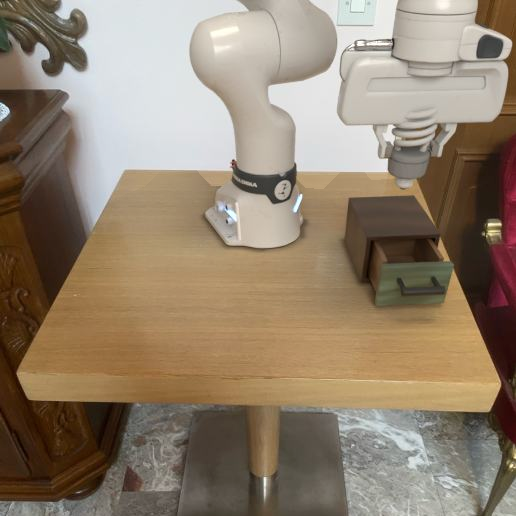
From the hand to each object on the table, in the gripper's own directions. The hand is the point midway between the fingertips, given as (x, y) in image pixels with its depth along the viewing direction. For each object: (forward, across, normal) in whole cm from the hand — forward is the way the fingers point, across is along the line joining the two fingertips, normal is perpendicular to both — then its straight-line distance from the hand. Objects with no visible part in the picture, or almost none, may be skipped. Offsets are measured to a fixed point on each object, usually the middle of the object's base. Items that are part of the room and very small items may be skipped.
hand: (409, 156), depth 70 cm
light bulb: (+5, 0, 0) cm, 5 cm away
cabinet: (+26, +5, +17) cm, 31 cm away
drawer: (+25, +5, +6) cm, 26 cm away
